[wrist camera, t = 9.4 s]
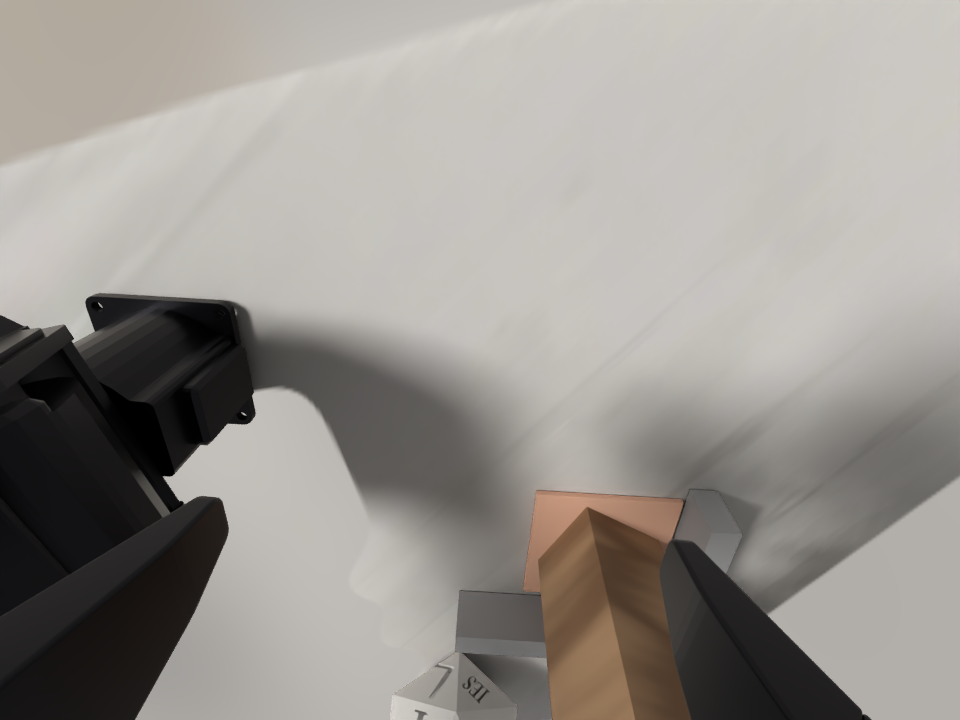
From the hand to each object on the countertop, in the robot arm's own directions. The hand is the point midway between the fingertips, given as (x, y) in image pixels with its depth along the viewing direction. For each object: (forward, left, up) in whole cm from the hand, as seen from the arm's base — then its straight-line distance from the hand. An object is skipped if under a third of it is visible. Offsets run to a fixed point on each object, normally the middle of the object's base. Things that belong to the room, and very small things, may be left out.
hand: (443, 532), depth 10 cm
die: (0, -29, -13) cm, 32 cm away
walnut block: (+8, -15, -13) cm, 21 cm away
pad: (+8, -15, -13) cm, 21 cm away
